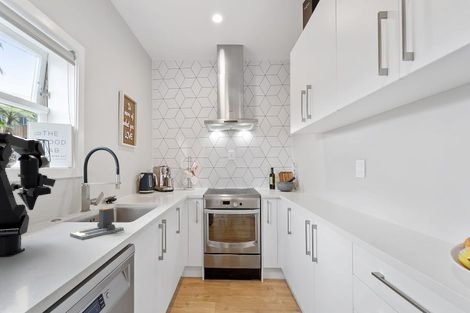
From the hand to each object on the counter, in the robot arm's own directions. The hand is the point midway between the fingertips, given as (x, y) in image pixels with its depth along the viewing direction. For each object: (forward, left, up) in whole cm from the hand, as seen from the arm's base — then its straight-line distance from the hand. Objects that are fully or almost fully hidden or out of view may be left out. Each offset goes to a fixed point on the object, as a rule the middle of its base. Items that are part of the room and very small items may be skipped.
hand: (30, 209), depth 100 cm
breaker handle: (+11, -24, -11) cm, 29 cm away
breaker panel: (+8, -22, -12) cm, 27 cm away
